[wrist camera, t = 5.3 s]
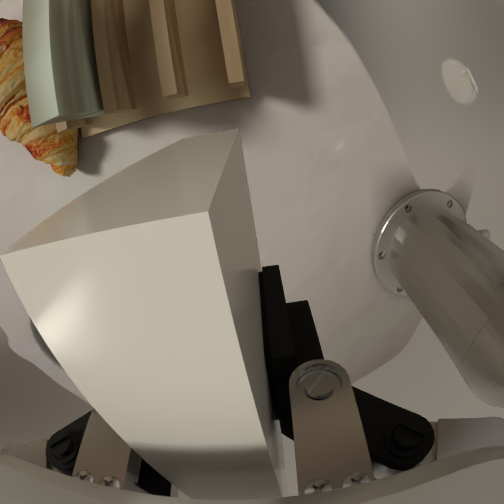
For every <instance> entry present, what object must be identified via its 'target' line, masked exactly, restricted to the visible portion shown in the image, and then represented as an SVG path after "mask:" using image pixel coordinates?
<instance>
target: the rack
mask: <svg viewBox="0 0 504 504" xmlns="http://www.w3.org/2000/svg"><path fill="white" fill-rule="evenodd" d="M22 30H23V59H24V72H25V82H26V91H27V98H28V105H29V112H30V118H31V123H32V128H34V127H39V126H44V125H48V124H53V123H56V128H57V133H59V132H63V131H68V130H72V129H76V128H81V132H82V136H83V138H86V137H89V136H92V135H95V134H98V133H101V132H104V131H107V130H110V129H113V128H116V127H119V126H123V125H126V124H129V123H133V122H136V121H140V120H143V119H147V118H151V117H155V116H158V115H162V114H166V113H171V112H175V111H179V110H184V109H188V108H193V107H198V106H203V105H208V104H213V103H219V102H225V101H231V100H237V99H244V98H250V97H251V96H250V90H249V84H248V77H247V71H246V65H245V59H244V53H243V47H242V41H241V35H240V29H239V23H238V17H237V11H236V6H235V0H23V24H22Z"/></svg>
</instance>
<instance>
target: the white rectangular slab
mask: <svg viewBox="0 0 504 504" xmlns="http://www.w3.org/2000/svg"><path fill="white" fill-rule="evenodd" d="M0 257H1V260H2V262H3V264H4V267H5V269H6V271H7V273H8V275H9V277H10V280H11V282H12V284H13V286H14V288H15V290H16V292H17V294H18V296H19V298H20V300H21V301H22V303H23V305H24V307H25V309H26V311H27V312H28V314H29V316H30V318H31V319H32V321H33V323H34V325H35V326H36V328H37V330H38V331H39V333H40V334H41V336H42V338H43V339H44V341H45V342H46V344H47V346H48V347H49V349H50V350H51V352H52V353H53V355H54V356H55V358H56V359H57V360H58V362H59V363H60V365H61V366H62V368H63V369H64V370H65V372H66V373H67V374H68V376H69V377H70V378H71V380H72V381H73V382H74V384H75V385H76V386H77V388H78V389H79V390H80V391H81V393H82V394H83V395H84V396H85V398H86V399H87V400H88V401H89V402H90V404H91V405H92V406H93V407H94V408H95V410H96V411H97V412H98V413H99V414H100V415H101V416H102V418H103V419H104V420H105V421H106V422H107V423H108V424H109V425H110V426H111V427H112V428H113V430H114V431H115V432H116V433H117V434H118V435H119V436H120V437H121V438H122V439H123V440H124V441H125V442H126V443H127V444H128V445H129V446H130V447H131V448H132V449H133V450H134V451H135V452H136V453H137V454H138V455H140V456H141V457H142V458H143V459H144V460H145V461H146V462H147V463H148V464H149V465H150V466H152V467H153V468H154V469H155V470H156V471H157V472H159V473H160V474H161V475H162V476H163V477H164V478H166V479H167V480H168V481H169V482H171V483H172V484H173V485H174V486H176V487H177V488H178V489H180V490H181V491H182V492H183V493H185V494H186V495H188V496H189V497H190V498H191V499H207V500H249V499H267V498H280V497H288V493H287V481H286V471H285V459H284V449H283V439H282V433H281V428H280V421H279V420H276V417H275V412H274V407H273V401H272V396H271V391H270V385H269V380H268V375H267V369H266V364H265V356H264V345H263V331H262V317H261V303H260V289H259V275H258V272H261V271H262V269H261V262H260V256H259V249H258V243H257V237H256V230H255V224H254V218H253V211H252V205H251V199H250V192H249V186H248V180H247V174H246V167H245V161H244V155H243V149H242V143H241V136H240V130H239V128H238V129H232V130H226V131H220V132H215V133H209V134H204V135H199V136H194V137H189V138H184V139H181V140H179V141H177V142H175V143H173V144H171V145H169V146H167V147H165V148H163V149H161V150H159V151H157V152H155V153H153V154H151V155H149V156H147V157H146V158H144V159H142V160H140V161H138V162H136V163H135V164H133V165H131V166H129V167H127V168H126V169H124V170H122V171H120V172H119V173H117V174H115V175H113V176H112V177H110V178H108V179H107V180H105V181H103V182H102V183H100V184H98V185H97V186H95V187H94V188H92V189H90V190H89V191H87V192H86V193H84V194H82V195H81V196H79V197H78V198H76V199H75V200H73V201H72V202H70V203H69V204H67V205H66V206H64V207H63V208H61V209H60V210H59V211H57V212H56V213H54V214H53V215H51V216H50V217H49V218H47V219H46V220H44V221H43V222H42V223H40V224H39V225H38V226H36V227H35V228H34V229H32V230H31V231H30V232H28V233H27V234H26V235H24V236H23V237H22V238H21V239H19V240H18V241H17V242H16V243H14V244H13V245H12V246H11V247H9V248H8V249H7V250H6V251H5V252H3V253H2V254H1V255H0Z"/></svg>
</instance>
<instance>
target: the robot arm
mask: <svg viewBox="0 0 504 504" xmlns="http://www.w3.org/2000/svg"><path fill="white" fill-rule="evenodd" d="M489 239H490V233H489V231H488V230H486V229H485V230H480V231H477V230H476V229H474V228H473V227H472V226H470V225H469V224H467V223H466V218H465V214H464V211H463V209H462V208H461V206H460V204H459V203H458V202H457V201H456V200H455V199H454V198H453V197H451V196H450V195H448V194H447V193H444V192H442V191H440V190H435V189H423V190H419V191H416V192H413V193H411V194H409V195H407V196H405V197H404V198H402V199H401V200H400V201H399V202H397V203H396V204H395V205H394V206H393V207H392V208H391V209H390V211H389V212H388V213H387V214H386V216H385V217H384V219H383V220H382V222H381V223H380V226H379V228H378V230H377V232H376V235H375V239H374V242H373V248H372V264H373V268H374V271H375V274H376V276H377V277H378V279H379V281H380V282H381V283H382V285H383V286H384V287H385V288H386V289H387V290H389V291H390V292H392V293H394V294H396V295H401V296H409V298H410V299H411V300H412V302H413V303H414V304H415V306H416V307H417V309H418V310H419V311H420V313H421V314H422V316H423V317H424V319H425V320H426V321H427V323H428V324H429V326H430V327H431V329H432V330H433V332H434V333H435V335H436V336H437V338H438V339H439V341H440V342H441V344H442V345H443V347H444V349H445V350H446V352H447V353H448V355H449V356H450V358H451V359H452V361H453V363H454V364H455V366H456V368H457V369H458V371H459V373H460V374H461V376H462V377H463V379H464V380H465V382H466V384H467V386H468V387H469V389H470V390H471V391H472V393H473V394H474V395H475V396H476V397H477V398H478V399H480V400H481V401H482V402H484V403H486V404H488V405H491V406H495V407H500V408H504V251H503V250H501V249H500V248H499V247H498V246H496V245H495V244H494V243H492V242H491V241H490V240H489ZM258 275H259V289H260V303H261V317H262V331H263V345H264V356H265V364H266V369H267V375H268V380H269V385H270V391H271V396H272V401H273V407H274V412H275V417H276V420H279V421H280V428H281V433H282V434H284V435H286V436H287V437H288V438H290V439H292V440H293V441H294V445H295V457H296V468H297V481H298V494H299V495H298V496H290V497H280V498H267V499H249V500H207V499H188V498H178V488H177V487H176V486H174V485H173V484H172V483H171V482H169V481H168V480H167V479H166V478H164V477H163V476H162V475H161V474H160V473H159V472H157V471H156V470H155V469H154V468H153V467H152V466H150V465H149V464H148V463H147V462H146V461H145V460H144V459H143V458H142V457H141V456H140V455H138V454H137V453H136V452H135V451H134V450H133V449H132V448H131V447H130V446H129V445H128V444H127V443H126V442H125V441H124V440H123V439H122V438H121V437H120V436H119V435H118V434H117V433H116V432H115V431H114V430H113V428H112V427H111V426H110V425H109V424H108V423H107V422H106V421H105V420H104V419H103V418H102V416H101V415H100V414H99V413H98V412H97V411H96V410H95V408H94V407H93V409H92V410H91V411H90V412H88V413H87V414H85V415H83V416H82V417H80V418H79V419H77V420H75V421H74V422H72V423H71V424H69V425H67V426H66V427H64V428H62V429H61V430H59V431H58V432H56V433H55V434H53V435H52V436H51V438H50V439H49V440H48V439H46V438H43V439H38V440H31V441H25V442H18V443H10V444H7V445H5V446H4V447H3V448H2V449H1V451H0V504H504V419H503V418H500V417H486V418H485V417H484V418H462V419H439V420H438V421H437V422H429V421H428V420H427V419H426V418H424V417H422V416H420V415H418V414H416V413H413V412H410V411H408V410H406V409H403V408H401V407H398V406H396V405H394V404H392V403H389V402H387V401H384V400H382V399H380V398H377V397H375V396H373V395H371V394H369V393H366V392H364V391H362V390H360V389H357V388H355V387H353V386H352V385H351V382H350V378H349V376H348V374H347V372H346V370H345V369H344V368H343V367H342V366H341V365H340V364H338V363H336V362H334V361H330V360H325V359H324V357H323V353H322V350H321V346H320V342H319V339H318V335H317V331H316V328H315V324H314V321H313V317H312V314H311V310H310V307H309V303H308V301H307V300H305V301H298V302H291V303H286V301H285V296H284V291H283V286H282V280H281V275H280V270H279V265H273V266H266V267H262V271H261V272H258Z"/></svg>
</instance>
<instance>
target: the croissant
mask: <svg viewBox="0 0 504 504" xmlns="http://www.w3.org/2000/svg"><path fill="white" fill-rule="evenodd" d="M0 130H1V132H2V134H3V135H4V136H6V137H7V138H8V139H9V140H10V141H17V142H18V143H21V144H22V145H23V146H25V147H26V148H27V150H28V151H29V152H30V153H31V154H32V156H33V157H34V159H35V160H40V161H43V162H44V163H45V164H50V163H51V166H52V169H53V170H54V172H55V173H56V174H59V175H61V176H68V177H70V176H71V175H72V174H73V172H75V171H76V168H77V163H78V158H77V156H78V150H77V141H78V131H79V129H78V128H76V129H72V130H68V131H63V132H59V133H57V128H56V123H53V124H48V125H44V126H39V127H34V128H32V123H31V118H30V112H29V105H28V98H27V91H26V82H25V72H24V59H23V30H22V23H21V22H19V21H18V20H7V19H4V18H0Z"/></svg>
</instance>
